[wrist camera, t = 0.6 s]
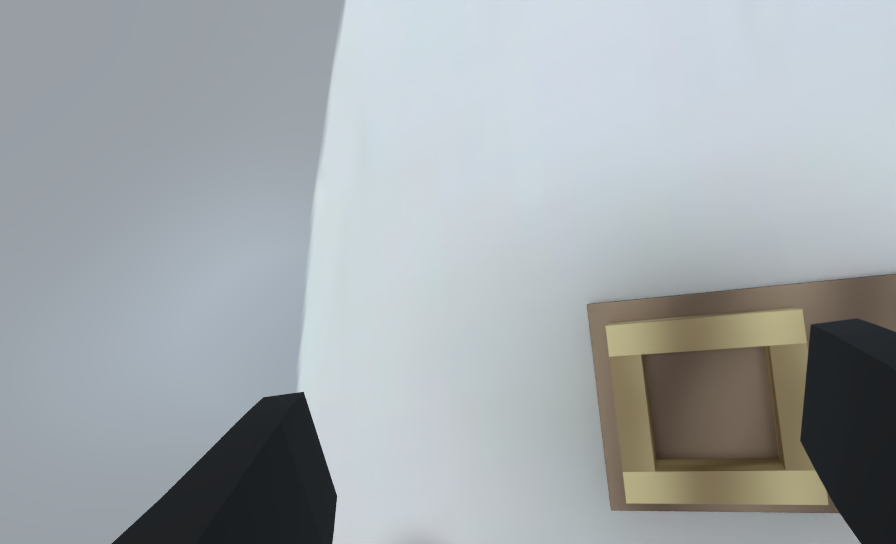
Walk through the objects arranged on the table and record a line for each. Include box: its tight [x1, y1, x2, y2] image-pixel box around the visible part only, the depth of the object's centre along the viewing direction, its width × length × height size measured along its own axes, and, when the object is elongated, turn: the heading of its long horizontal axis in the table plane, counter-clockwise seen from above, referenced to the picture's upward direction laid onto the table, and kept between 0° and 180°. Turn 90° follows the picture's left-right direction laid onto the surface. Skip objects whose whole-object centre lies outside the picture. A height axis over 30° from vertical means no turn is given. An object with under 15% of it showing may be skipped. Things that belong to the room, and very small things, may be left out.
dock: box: [587, 274, 896, 513], centre depth 27 cm, size 22×10×3 cm, turn 96°
